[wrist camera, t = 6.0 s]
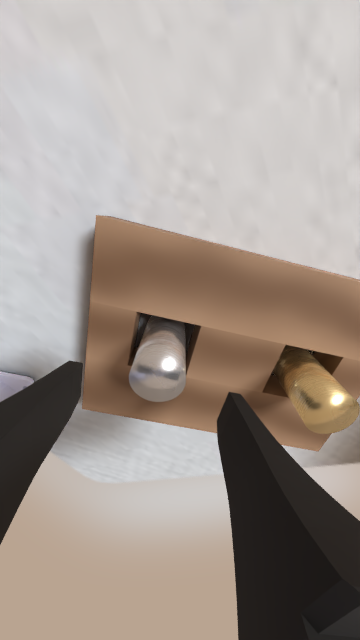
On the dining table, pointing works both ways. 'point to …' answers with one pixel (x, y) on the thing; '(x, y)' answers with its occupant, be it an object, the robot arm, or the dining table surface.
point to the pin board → (214, 326)
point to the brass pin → (315, 392)
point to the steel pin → (160, 361)
